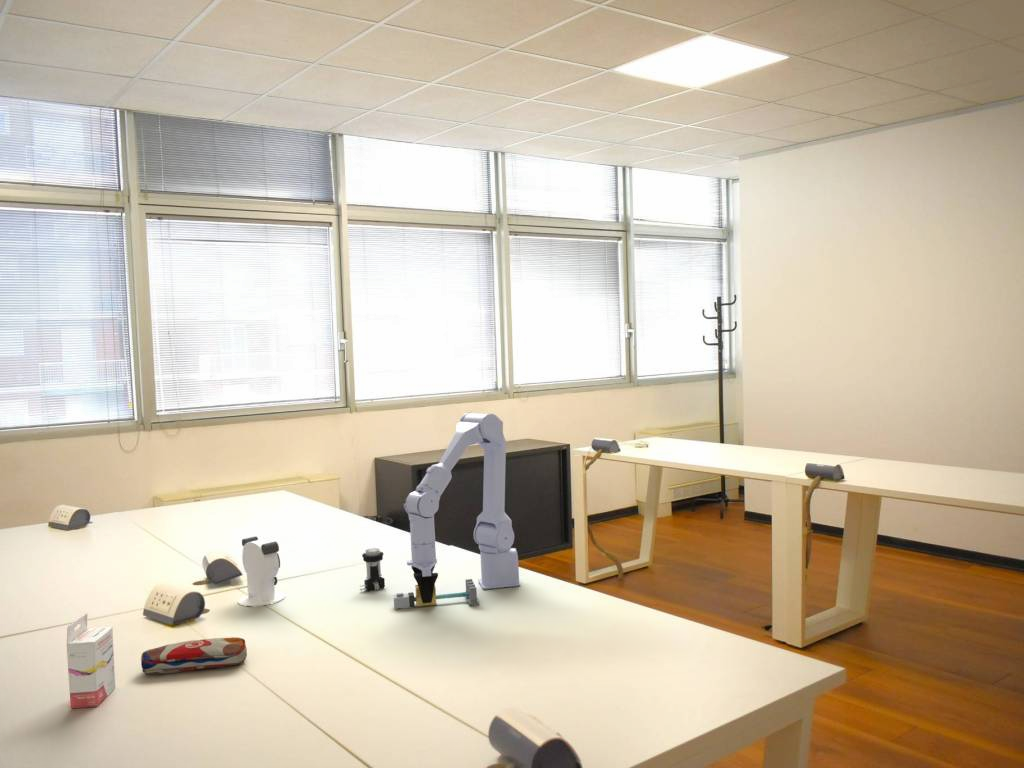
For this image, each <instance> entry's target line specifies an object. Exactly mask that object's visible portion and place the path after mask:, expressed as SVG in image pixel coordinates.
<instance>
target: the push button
mask: <svg viewBox="0 0 1024 768" xmlns="http://www.w3.org/2000/svg"><path fill="white" fill-rule="evenodd" d="M361 555H362V560H363V561H364V562H365V564H366V565H365V566H366V577H365V579H364V584H362V585H361V584H360V585H359V587H361V588H360V589H359V591H364V590H365V591H367V592H370V590H372V591H375V590H376V589H377V590H380V589H379V588H381V589H382V588H383V589H385V588H386V584H385V583H386V582H385V579H386V578H385V577H382V573H381V572H382V571H381V561H382V560H383V559H384V558H383V556H384V552H383V551H380V548H375V547H374V548H368V549H365V552H363V554H361ZM362 587H363V588H362ZM384 587H385V588H384ZM374 589H375V590H374ZM377 590H376V591H377Z"/></svg>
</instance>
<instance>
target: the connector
mask: <svg viewBox="0 0 1024 768" xmlns="http://www.w3.org/2000/svg"><path fill="white" fill-rule="evenodd" d="M409 607H410V606H409V595H408V593H404V592H396V594H393V608H394V610H398V608H403V609H410V608H409Z"/></svg>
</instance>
